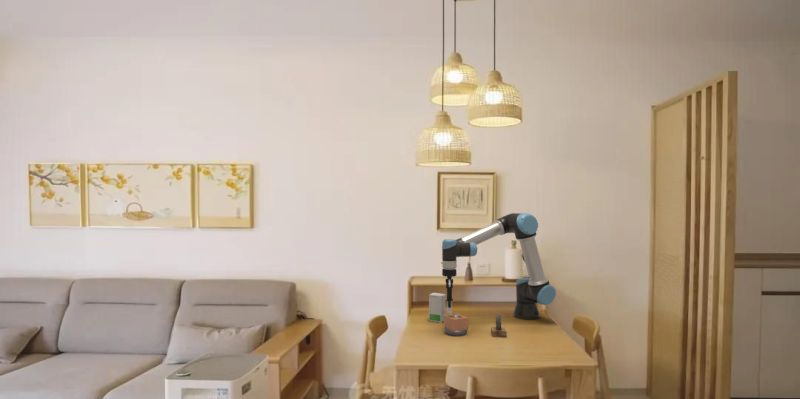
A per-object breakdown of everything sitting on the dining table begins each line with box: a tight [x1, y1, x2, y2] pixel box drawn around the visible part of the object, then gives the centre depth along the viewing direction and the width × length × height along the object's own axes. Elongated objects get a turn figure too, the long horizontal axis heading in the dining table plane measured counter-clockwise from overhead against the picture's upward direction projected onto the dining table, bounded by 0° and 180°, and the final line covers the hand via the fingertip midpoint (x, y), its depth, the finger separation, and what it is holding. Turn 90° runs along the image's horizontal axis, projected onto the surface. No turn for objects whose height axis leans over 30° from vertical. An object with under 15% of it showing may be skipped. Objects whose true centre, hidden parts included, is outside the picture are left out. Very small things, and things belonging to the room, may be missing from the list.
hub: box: [443, 313, 468, 337], centre depth 223 cm, size 12×12×10 cm
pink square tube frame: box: [443, 313, 469, 331], centre depth 223 cm, size 9×9×6 cm
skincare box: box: [428, 292, 447, 323], centre depth 248 cm, size 8×7×16 cm
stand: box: [490, 314, 508, 338], centre depth 219 cm, size 7×7×10 cm
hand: (449, 313), depth 223 cm, fingers closed
